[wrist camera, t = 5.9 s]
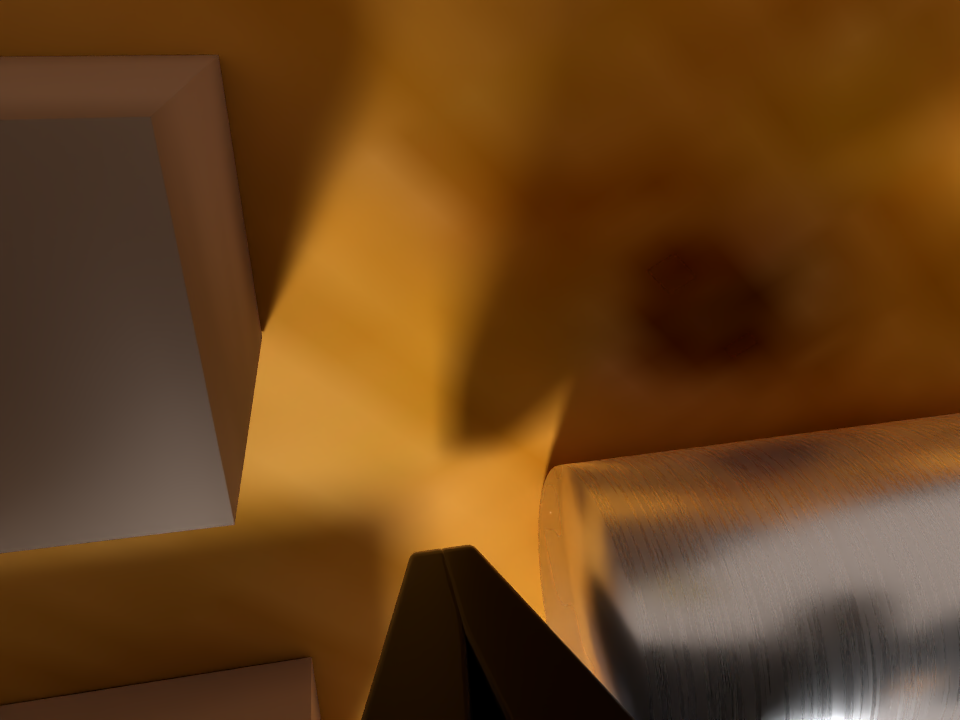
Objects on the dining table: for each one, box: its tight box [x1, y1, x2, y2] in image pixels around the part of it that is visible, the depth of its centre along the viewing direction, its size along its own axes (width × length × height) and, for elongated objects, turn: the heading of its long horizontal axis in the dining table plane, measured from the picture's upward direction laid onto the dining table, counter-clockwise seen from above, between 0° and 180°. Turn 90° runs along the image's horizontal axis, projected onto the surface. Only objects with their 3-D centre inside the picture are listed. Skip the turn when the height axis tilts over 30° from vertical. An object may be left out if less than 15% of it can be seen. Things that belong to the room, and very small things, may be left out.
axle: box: [538, 413, 960, 720], centre depth 10 cm, size 10×4×4 cm, turn 90°
